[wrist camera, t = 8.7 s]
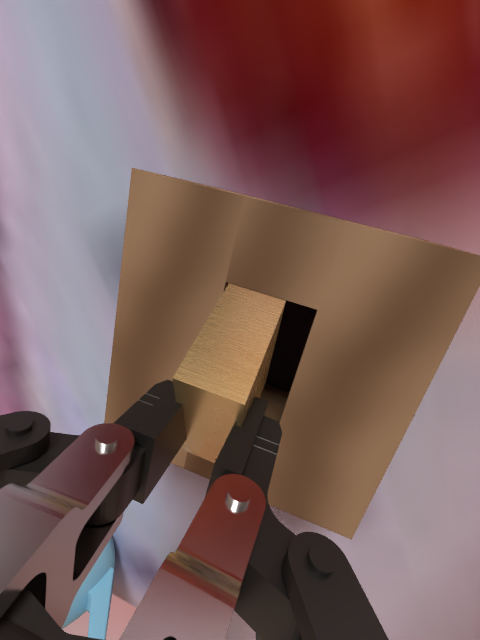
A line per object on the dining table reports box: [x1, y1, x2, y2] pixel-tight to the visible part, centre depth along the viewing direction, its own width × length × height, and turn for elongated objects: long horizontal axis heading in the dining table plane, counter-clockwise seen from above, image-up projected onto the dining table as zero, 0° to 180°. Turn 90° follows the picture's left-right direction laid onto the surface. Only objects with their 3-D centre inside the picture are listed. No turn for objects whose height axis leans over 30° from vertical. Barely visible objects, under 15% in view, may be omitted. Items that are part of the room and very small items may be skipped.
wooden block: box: [173, 284, 286, 463], centre depth 12 cm, size 2×5×4 cm
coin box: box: [104, 168, 480, 539], centre depth 20 cm, size 14×14×10 cm
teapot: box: [62, 537, 115, 640], centre depth 34 cm, size 15×15×11 cm
